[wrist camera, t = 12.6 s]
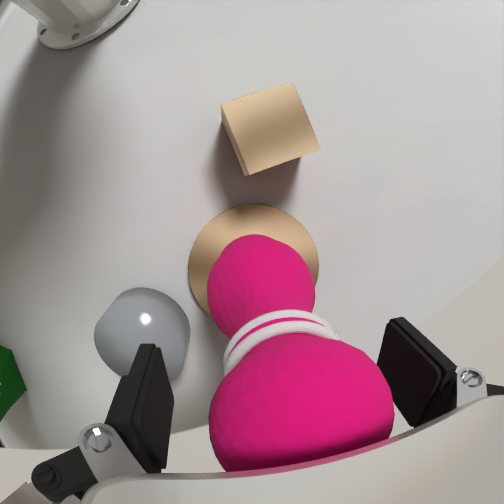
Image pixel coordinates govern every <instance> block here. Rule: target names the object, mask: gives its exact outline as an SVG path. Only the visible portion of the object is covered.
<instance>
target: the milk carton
mask: <svg viewBox="0 0 504 504" xmlns="http://www.w3.org/2000/svg"><path fill="white" fill-rule="evenodd" d="M26 390H27V389H26V386H25V384H24V382H23V379H22V377H21V375H20V372H19V370H18V367H17V364H16V362H15V359H14V356H13V354H12V351H11V350H9V349H7V348H4V347H2V346H0V422H1V420H2V419H3V417H4V416H5V414H6V413H7V411H8V410H9V409H10V407H11V406H12V405H13V404H14V403H15V402H16V401H17V400H18V399H19V398H20V396H21V395H22V394H23V393H24V392H25V391H26Z"/></svg>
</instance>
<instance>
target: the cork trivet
mask: <svg viewBox="0 0 504 504" xmlns="http://www.w3.org/2000/svg"><path fill="white" fill-rule="evenodd" d="M250 234H260V235H265V236H268V237H271V238H273V239H274V240H278V241H281V242H283V243H285V244H287V245H289V246H290V247H292V248H293V249H294V250H296V251H297V252H298V253H299V254H300V255H301V257H302V258H303V260H304V261H305V263H306V264H307V266H308V267H309V269H310V271H311V274H312V277H313V280H314V287H315V285H316V282H317V278H318V271H319V259H318V253H317V249H316V246H315V244H314V241H313V239H312V237H311V236H310V234H309V232H308V231H307V230H306V228H305V227H304V226H303V225H302V224H301V223H300V222H299V221H298V220H296V219H295V218H294V217H292V216H291V215H289V214H288V213H286V212H284V211H282V210H280V209H277V208H274V207H271V206H266V205H253V204H252V205H243V206H239V207H235V208H232V209H229V210H227V211H225V212H223V213H221V214H219V215H218V216H216V217H215V218H214V219H212V220H211V221H210V222H209V223H208V224H207V225H206V226H205V227H204V228H203V230H202V231H201V232H200V234H199V235H198V237H197V239H196V241H195V243H194V245H193V247H192V250H191V253H190V257H189V264H188V277H189V283H190V286H191V289H192V292H193V294H194V296H195V298H196V300H197V302H198V303H199V305H200V306H201V307H202V308H203V309H204V311H205V312H206V313H207V314H209V315H210V316H211V317H212V315H211V313H210V310H209V306H208V302H207V280H208V277H209V273H210V271H211V269H212V267H213V265H214V263H215V262H216V260H217V259H218V258H219V256H220V254H221V252H222V251H223V249H224V248H225V247H226V246H227V245H228V244H229V243H230V242H232V241H233V240H235V239H237V238H239V237H241V236H245V235H250ZM212 318H213V317H212Z"/></svg>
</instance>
